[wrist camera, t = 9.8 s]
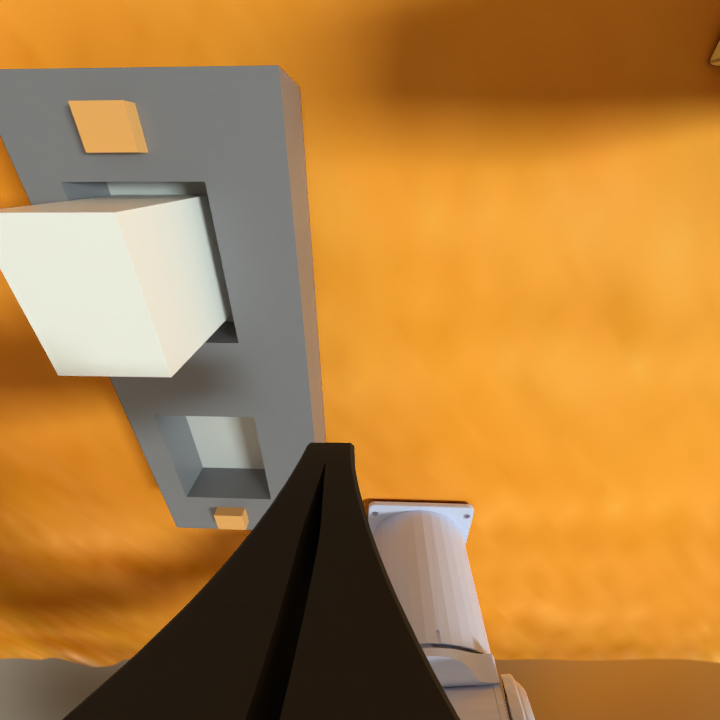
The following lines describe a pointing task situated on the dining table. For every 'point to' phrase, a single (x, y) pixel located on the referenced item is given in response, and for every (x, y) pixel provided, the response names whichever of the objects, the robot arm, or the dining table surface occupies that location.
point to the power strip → (237, 250)
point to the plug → (117, 281)
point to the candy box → (716, 56)
